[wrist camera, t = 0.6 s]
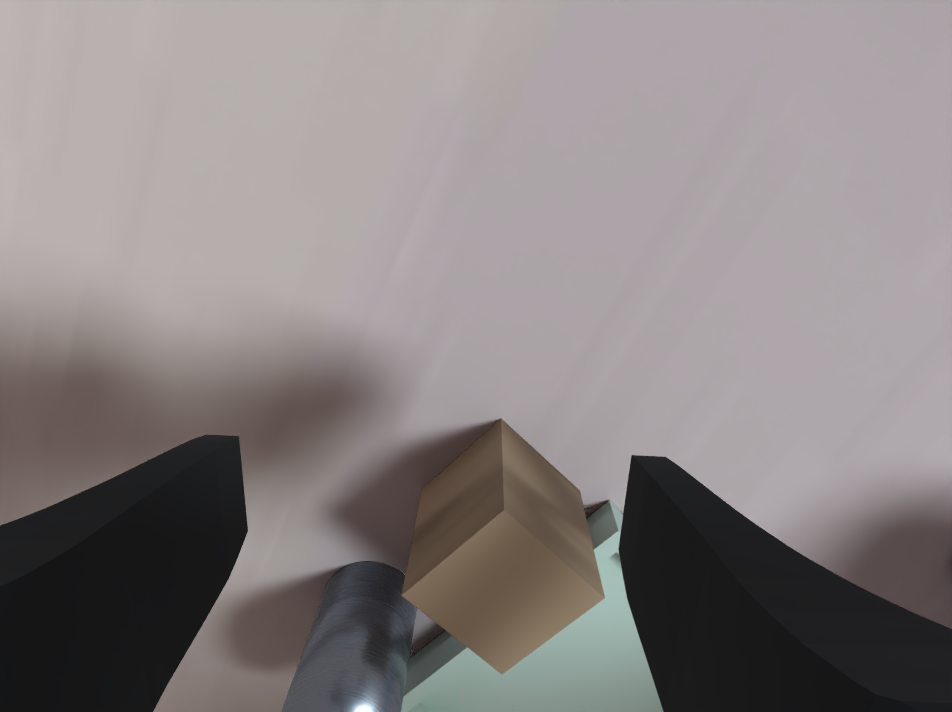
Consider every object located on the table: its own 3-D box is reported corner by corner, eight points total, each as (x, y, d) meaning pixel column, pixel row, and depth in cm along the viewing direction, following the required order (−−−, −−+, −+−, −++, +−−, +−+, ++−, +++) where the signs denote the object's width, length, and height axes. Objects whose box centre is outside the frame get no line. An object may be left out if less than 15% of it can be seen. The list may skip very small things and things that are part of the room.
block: (579, 490, 23) (605, 597, 18) (499, 554, 24) (501, 674, 19) (501, 418, 22) (504, 510, 17) (421, 488, 23) (401, 595, 18)
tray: (777, 656, 25) (798, 695, 24) (553, 802, 28) (556, 845, 27) (609, 500, 23) (618, 530, 21) (385, 677, 26) (377, 716, 25)
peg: (436, 600, 25) (420, 742, 19) (374, 651, 26) (342, 800, 20) (366, 544, 24) (328, 675, 18) (305, 598, 25) (251, 739, 19)
